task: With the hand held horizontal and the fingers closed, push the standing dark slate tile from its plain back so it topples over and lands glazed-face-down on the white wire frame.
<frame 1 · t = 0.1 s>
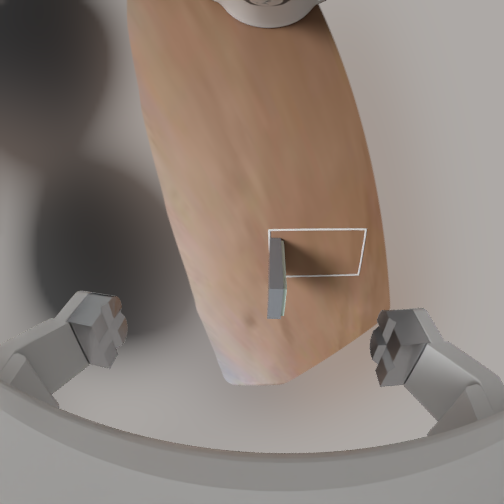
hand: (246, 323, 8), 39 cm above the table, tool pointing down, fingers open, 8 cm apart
white wire frame: (316, 251, 53), on the table
tile: (274, 251, 53), on the table
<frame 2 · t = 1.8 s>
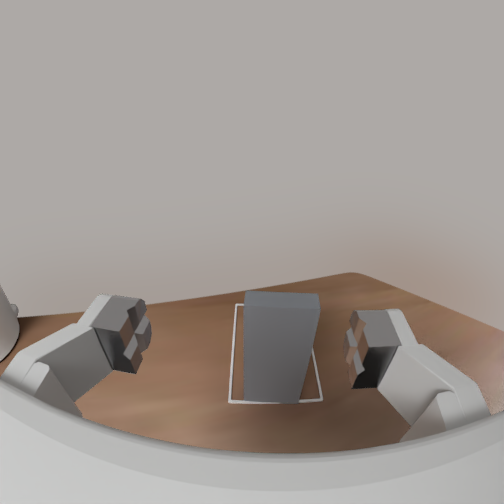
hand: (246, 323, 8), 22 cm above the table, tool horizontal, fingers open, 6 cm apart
white wire frame: (272, 349, 37), on the table
tile: (271, 396, 29), on the table
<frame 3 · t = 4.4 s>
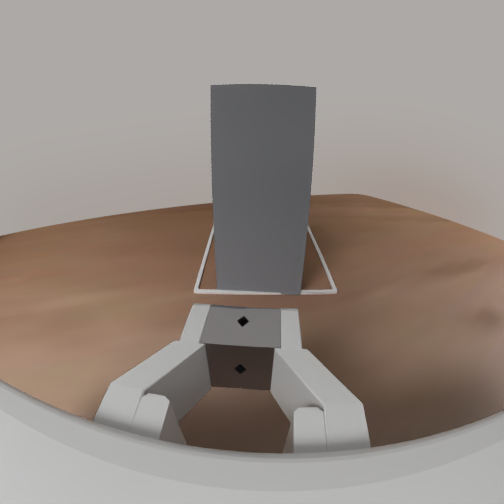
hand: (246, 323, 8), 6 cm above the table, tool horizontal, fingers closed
white wire frame: (262, 245, 29), on the table
tile: (259, 285, 22), on the table
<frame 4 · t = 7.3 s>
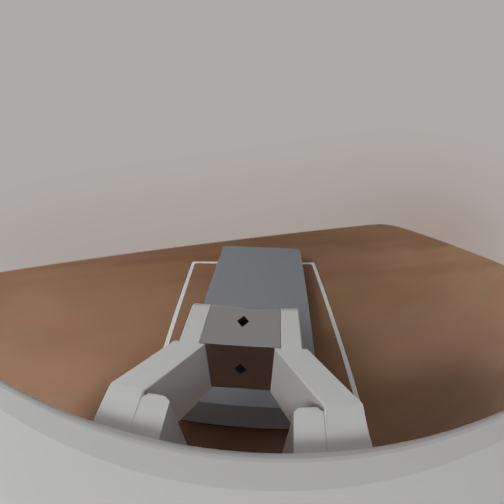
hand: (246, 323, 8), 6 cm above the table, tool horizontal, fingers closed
white wire frame: (253, 344, 17), on the table, touching tile
tile: (245, 417, 11), point 1 cm above the table, tilted 90°, touching white wire frame
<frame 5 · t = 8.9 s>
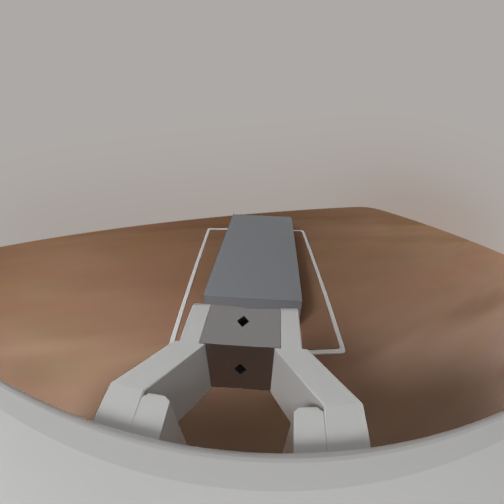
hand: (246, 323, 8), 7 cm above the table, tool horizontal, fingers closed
white wire frame: (256, 280, 24), on the table, touching tile
tile: (252, 311, 18), point 1 cm above the table, tilted 90°, touching white wire frame
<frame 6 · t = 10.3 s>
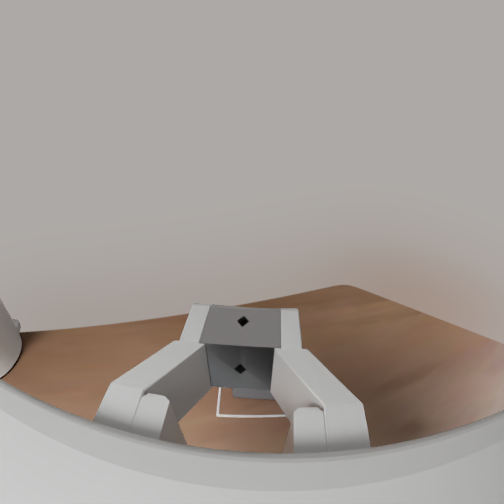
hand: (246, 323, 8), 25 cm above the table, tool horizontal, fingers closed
tile: (257, 394, 31), point 1 cm above the table, tilted 90°, touching white wire frame
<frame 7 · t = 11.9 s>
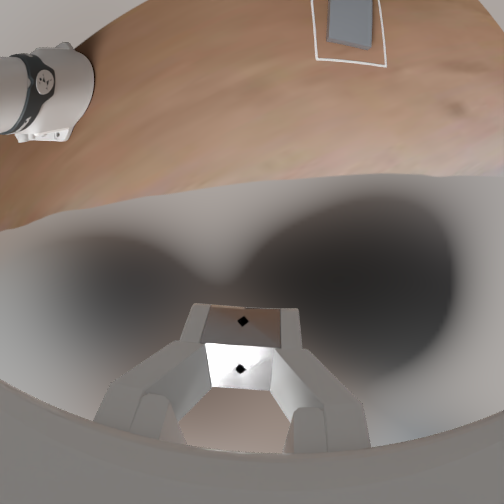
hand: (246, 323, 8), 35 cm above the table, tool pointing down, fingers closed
white wire frame: (346, 11, 28), on the table, touching tile
tile: (348, 43, 29), point 1 cm above the table, tilted 90°, touching white wire frame
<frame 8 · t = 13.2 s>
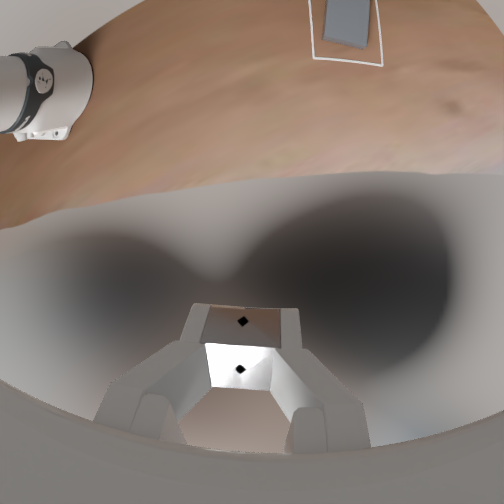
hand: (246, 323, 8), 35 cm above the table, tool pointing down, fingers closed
white wire frame: (343, 11, 28), on the table, touching tile
tile: (344, 42, 30), point 1 cm above the table, tilted 90°, touching white wire frame
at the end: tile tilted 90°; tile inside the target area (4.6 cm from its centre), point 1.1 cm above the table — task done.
